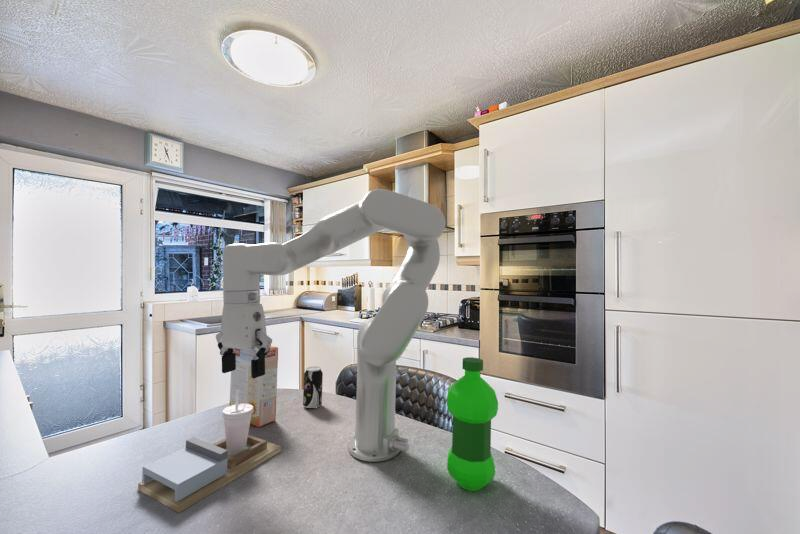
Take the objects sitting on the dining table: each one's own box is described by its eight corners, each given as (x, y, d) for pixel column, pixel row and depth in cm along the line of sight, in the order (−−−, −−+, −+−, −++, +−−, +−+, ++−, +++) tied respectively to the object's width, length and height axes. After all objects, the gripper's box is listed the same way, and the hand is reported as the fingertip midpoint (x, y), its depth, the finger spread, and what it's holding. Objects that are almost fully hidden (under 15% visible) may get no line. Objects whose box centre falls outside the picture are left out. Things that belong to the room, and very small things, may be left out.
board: (280, 451, 78) (281, 438, 78) (178, 512, 58) (179, 495, 58) (242, 437, 84) (243, 425, 84) (138, 489, 63) (138, 473, 63)
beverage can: (319, 410, 102) (320, 371, 102) (300, 410, 102) (301, 370, 102) (323, 403, 108) (324, 366, 108) (305, 402, 108) (307, 365, 108)
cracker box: (277, 420, 94) (279, 346, 95) (258, 428, 89) (260, 350, 90) (247, 409, 102) (249, 340, 102) (228, 415, 96) (230, 343, 97)
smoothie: (213, 457, 72) (216, 392, 73) (233, 443, 79) (235, 383, 79) (239, 461, 71) (242, 395, 72) (257, 446, 78) (260, 386, 78)
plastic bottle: (465, 505, 61) (468, 369, 62) (435, 474, 71) (438, 356, 71) (507, 491, 65) (509, 364, 66) (473, 463, 75) (476, 352, 76)
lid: (227, 473, 67) (227, 450, 67) (177, 501, 58) (178, 475, 58) (192, 458, 72) (193, 437, 72) (142, 482, 63) (143, 458, 63)
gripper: (282, 297, 75) (283, 373, 75) (231, 296, 83) (232, 365, 83) (254, 300, 68) (256, 384, 68) (202, 299, 76) (203, 374, 76)
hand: (243, 373), depth 75 cm, fingers open, 9 cm apart
